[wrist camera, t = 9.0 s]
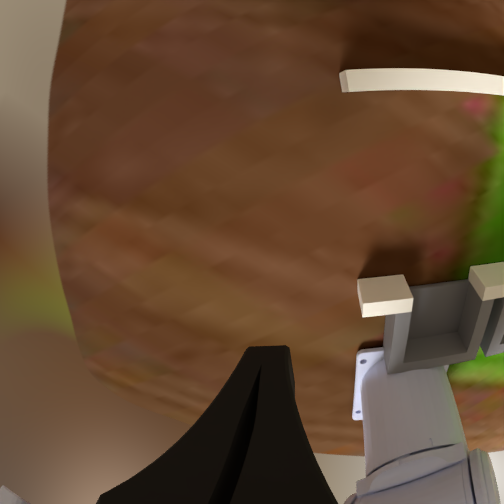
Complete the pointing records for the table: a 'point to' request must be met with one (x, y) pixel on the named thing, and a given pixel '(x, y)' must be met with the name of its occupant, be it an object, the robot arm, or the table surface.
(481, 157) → the table surface
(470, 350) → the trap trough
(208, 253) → the table surface
